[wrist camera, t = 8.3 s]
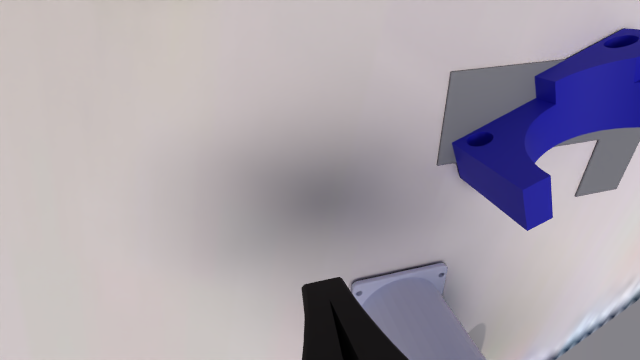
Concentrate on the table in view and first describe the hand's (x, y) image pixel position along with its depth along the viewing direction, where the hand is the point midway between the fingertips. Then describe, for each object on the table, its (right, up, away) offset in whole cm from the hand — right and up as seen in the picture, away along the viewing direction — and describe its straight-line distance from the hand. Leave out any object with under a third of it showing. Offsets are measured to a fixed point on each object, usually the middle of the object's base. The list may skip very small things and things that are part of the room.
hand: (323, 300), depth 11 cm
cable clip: (+14, +9, +10) cm, 19 cm away
